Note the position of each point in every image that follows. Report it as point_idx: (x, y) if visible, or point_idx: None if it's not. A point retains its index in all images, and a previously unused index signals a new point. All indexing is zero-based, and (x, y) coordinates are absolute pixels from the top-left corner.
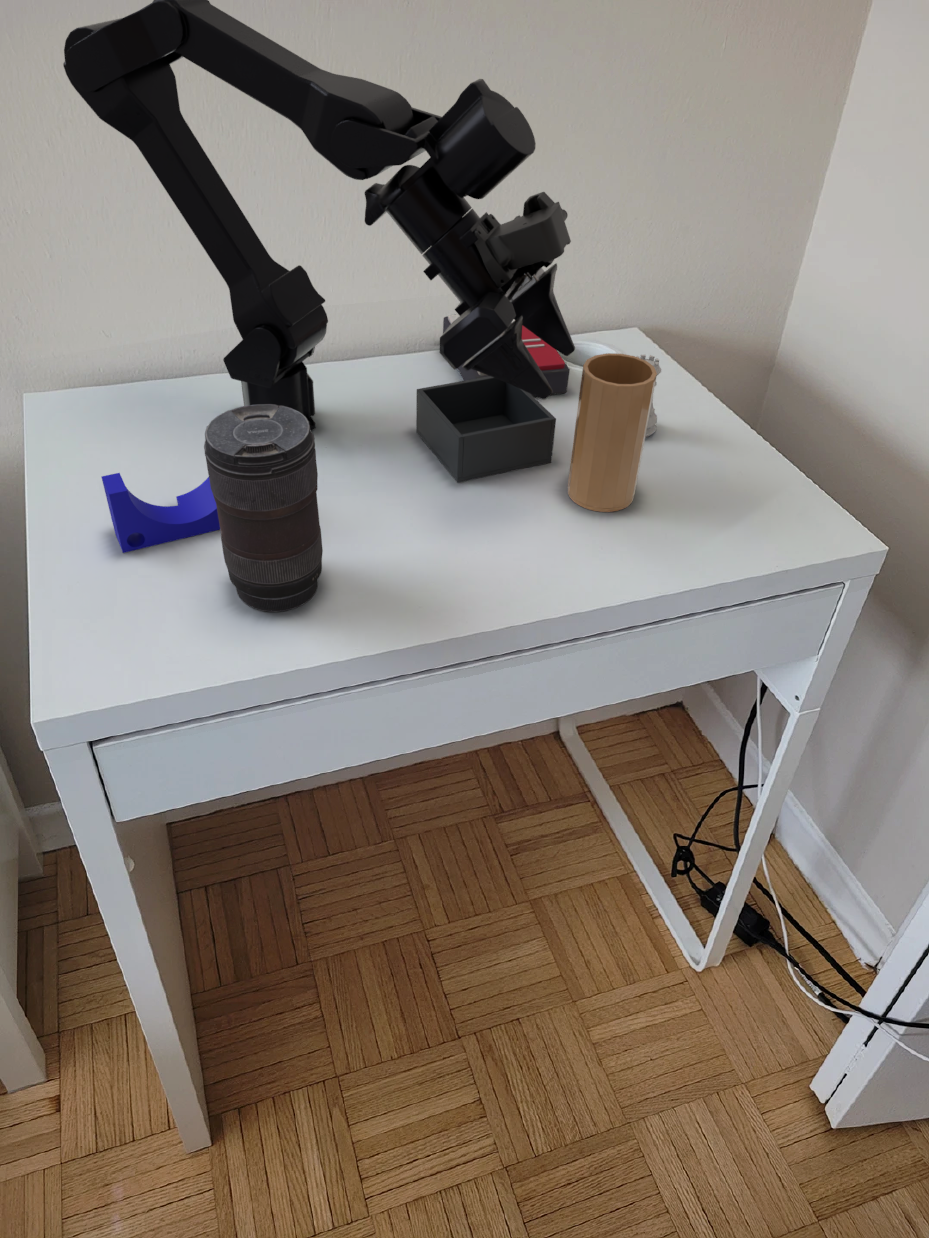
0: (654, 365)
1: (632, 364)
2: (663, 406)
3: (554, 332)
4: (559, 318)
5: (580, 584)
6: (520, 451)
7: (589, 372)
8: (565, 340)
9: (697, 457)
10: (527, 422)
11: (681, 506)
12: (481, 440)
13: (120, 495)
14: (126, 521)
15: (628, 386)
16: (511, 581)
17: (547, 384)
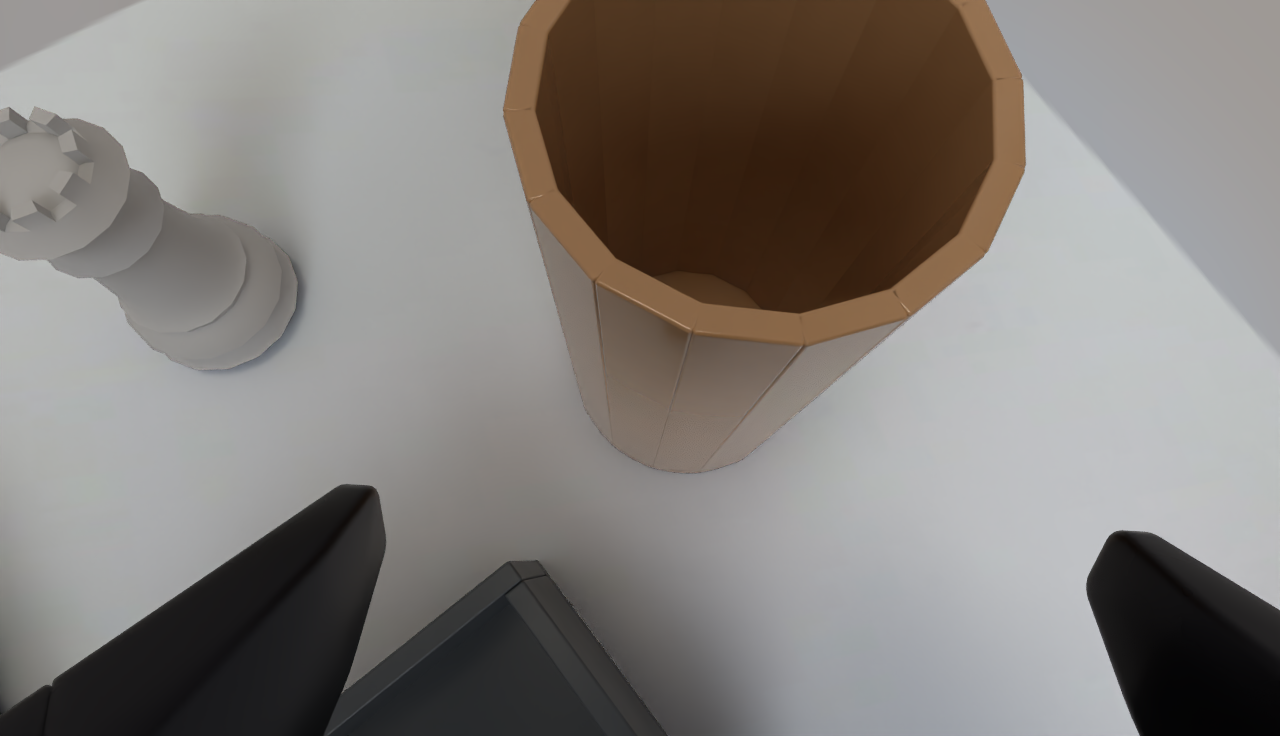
0: (55, 130)
1: (557, 60)
2: None
3: (278, 694)
4: (182, 683)
5: (1168, 358)
6: (619, 685)
7: (912, 283)
8: (337, 568)
9: (375, 104)
10: (586, 692)
11: None
12: None
13: None
14: None
15: (994, 23)
16: (1252, 555)
17: (1201, 571)
